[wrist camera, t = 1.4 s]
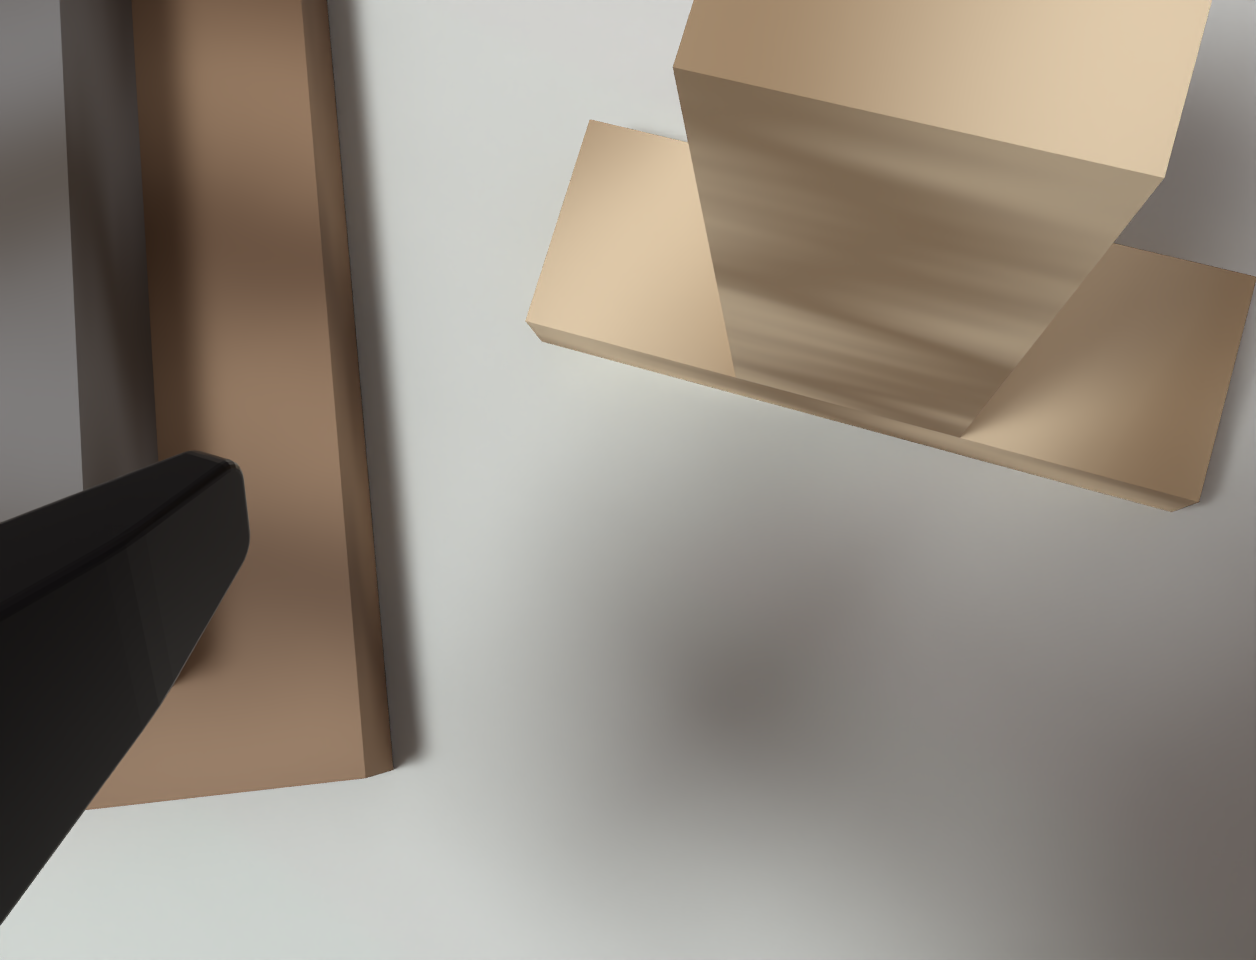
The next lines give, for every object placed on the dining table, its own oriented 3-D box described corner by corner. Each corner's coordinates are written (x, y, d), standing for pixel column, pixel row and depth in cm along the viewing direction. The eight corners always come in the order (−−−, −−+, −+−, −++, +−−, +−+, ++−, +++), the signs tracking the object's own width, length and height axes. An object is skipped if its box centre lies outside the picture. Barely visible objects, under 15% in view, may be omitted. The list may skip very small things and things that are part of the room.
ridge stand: (393, 769, 23) (309, 795, 19) (-93, 825, 24) (-269, 859, 20) (310, -182, 26) (224, -331, 22) (-115, -91, 27) (-271, -219, 23)
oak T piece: (1224, 302, 22) (1841, -194, 9) (1171, 511, 21) (1732, 306, 9) (601, 152, 24) (383, -427, 11) (542, 341, 23) (243, -30, 11)
